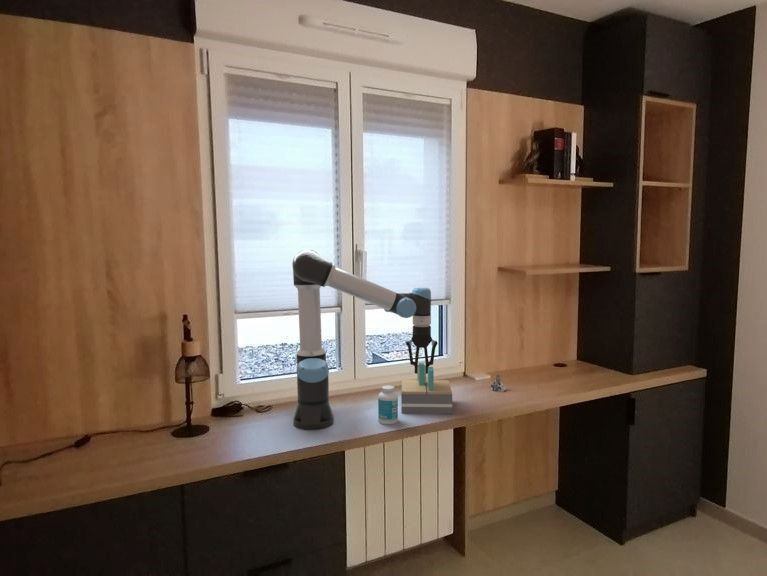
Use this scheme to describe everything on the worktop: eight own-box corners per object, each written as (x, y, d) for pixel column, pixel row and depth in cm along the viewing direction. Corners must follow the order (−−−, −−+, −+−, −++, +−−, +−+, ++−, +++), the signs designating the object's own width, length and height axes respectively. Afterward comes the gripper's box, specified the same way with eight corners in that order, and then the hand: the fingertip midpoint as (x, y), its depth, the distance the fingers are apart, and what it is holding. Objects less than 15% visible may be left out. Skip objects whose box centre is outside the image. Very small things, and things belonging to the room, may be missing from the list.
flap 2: (427, 394, 199) (427, 371, 198) (425, 382, 215) (425, 361, 214) (451, 394, 199) (452, 371, 198) (448, 382, 215) (448, 361, 214)
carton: (401, 413, 200) (401, 394, 200) (401, 400, 216) (401, 382, 216) (452, 414, 200) (452, 394, 199) (448, 401, 216) (448, 382, 215)
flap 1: (401, 393, 200) (401, 371, 199) (402, 382, 216) (402, 361, 215) (426, 394, 199) (426, 371, 198) (424, 382, 215) (424, 361, 214)
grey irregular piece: (479, 390, 232) (479, 374, 231) (492, 387, 237) (492, 371, 236) (494, 395, 224) (494, 378, 224) (507, 391, 229) (507, 375, 228)
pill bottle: (395, 426, 187) (395, 390, 186) (376, 424, 189) (376, 389, 188) (399, 419, 195) (399, 384, 193) (380, 417, 196) (380, 383, 195)
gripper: (403, 326, 205) (403, 383, 207) (440, 326, 204) (440, 383, 207) (403, 323, 212) (403, 378, 215) (439, 323, 212) (439, 378, 214)
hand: (421, 381), depth 211 cm, fingers closed on flap 1, 2 cm apart
